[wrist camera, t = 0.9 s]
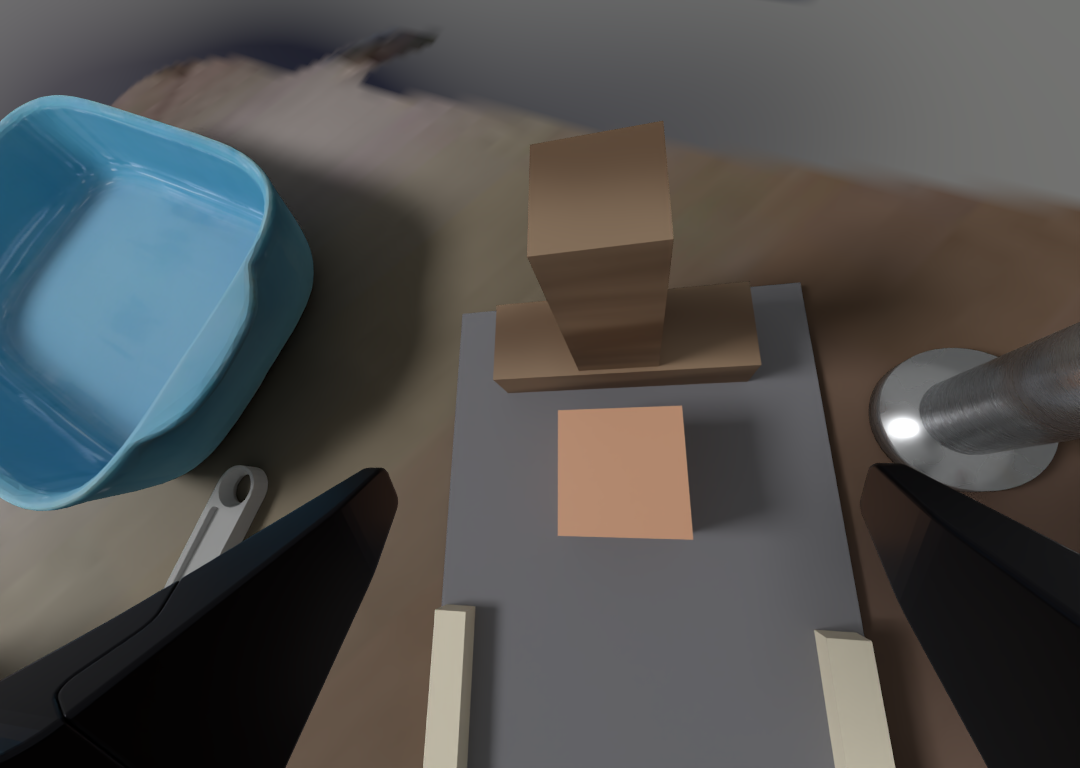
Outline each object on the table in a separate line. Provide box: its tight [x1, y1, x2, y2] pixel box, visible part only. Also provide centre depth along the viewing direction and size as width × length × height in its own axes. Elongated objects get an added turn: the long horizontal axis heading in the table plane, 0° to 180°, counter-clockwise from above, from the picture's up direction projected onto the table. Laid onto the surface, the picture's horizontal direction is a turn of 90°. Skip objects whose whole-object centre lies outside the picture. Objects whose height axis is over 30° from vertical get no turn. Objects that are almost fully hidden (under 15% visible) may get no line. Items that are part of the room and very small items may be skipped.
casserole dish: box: [0, 95, 314, 511], centre depth 29 cm, size 37×22×7 cm, turn 63°
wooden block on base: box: [493, 121, 761, 393], centre depth 17 cm, size 4×12×12 cm, turn 89°
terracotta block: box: [558, 406, 693, 540], centre depth 18 cm, size 5×5×4 cm
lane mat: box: [423, 283, 895, 768], centre depth 19 cm, size 25×18×2 cm
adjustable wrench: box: [164, 465, 268, 588], centre depth 23 cm, size 25×6×2 cm, turn 155°
